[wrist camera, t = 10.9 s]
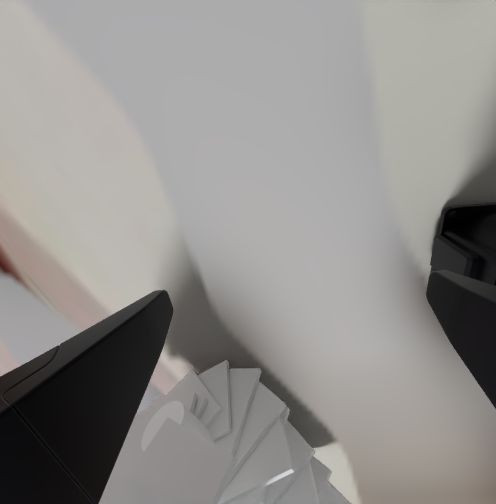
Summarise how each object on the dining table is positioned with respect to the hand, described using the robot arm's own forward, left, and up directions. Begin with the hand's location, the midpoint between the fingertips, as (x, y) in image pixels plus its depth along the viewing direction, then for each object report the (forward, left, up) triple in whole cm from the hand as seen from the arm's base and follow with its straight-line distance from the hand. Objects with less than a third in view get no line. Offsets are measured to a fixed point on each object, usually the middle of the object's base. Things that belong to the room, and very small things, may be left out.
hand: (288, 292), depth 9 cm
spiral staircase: (+7, +27, -13) cm, 30 cm away
